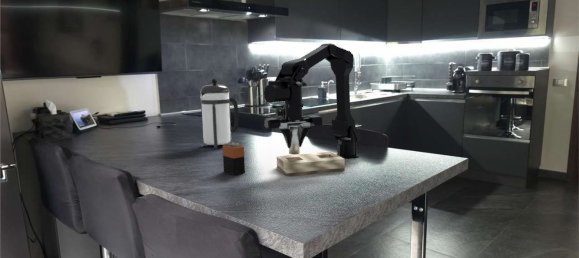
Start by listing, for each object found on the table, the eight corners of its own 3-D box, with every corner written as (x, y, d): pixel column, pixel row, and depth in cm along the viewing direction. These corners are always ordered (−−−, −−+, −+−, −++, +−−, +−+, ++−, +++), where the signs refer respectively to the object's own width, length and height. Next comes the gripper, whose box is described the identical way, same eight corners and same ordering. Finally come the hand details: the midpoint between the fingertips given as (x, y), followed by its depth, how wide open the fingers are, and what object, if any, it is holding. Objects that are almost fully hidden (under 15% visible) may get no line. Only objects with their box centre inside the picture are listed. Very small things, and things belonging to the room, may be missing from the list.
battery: (234, 175, 128) (233, 145, 126) (223, 171, 133) (221, 142, 131) (245, 173, 131) (244, 143, 129) (234, 169, 136) (232, 140, 134)
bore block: (330, 162, 143) (330, 151, 142) (344, 170, 131) (344, 158, 131) (276, 167, 137) (276, 156, 136) (286, 176, 126) (286, 164, 125)
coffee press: (234, 149, 170) (231, 78, 165) (196, 149, 170) (193, 79, 165) (239, 141, 187) (237, 77, 182) (205, 142, 187) (202, 78, 183)
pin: (297, 151, 134) (297, 125, 133) (301, 154, 131) (300, 127, 129) (287, 152, 133) (287, 126, 132) (290, 154, 130) (290, 127, 128)
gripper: (311, 97, 139) (312, 141, 142) (260, 100, 134) (261, 145, 136) (323, 100, 129) (323, 147, 131) (267, 102, 123) (269, 151, 126)
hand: (294, 147), depth 132 cm, fingers closed on pin, 3 cm apart
